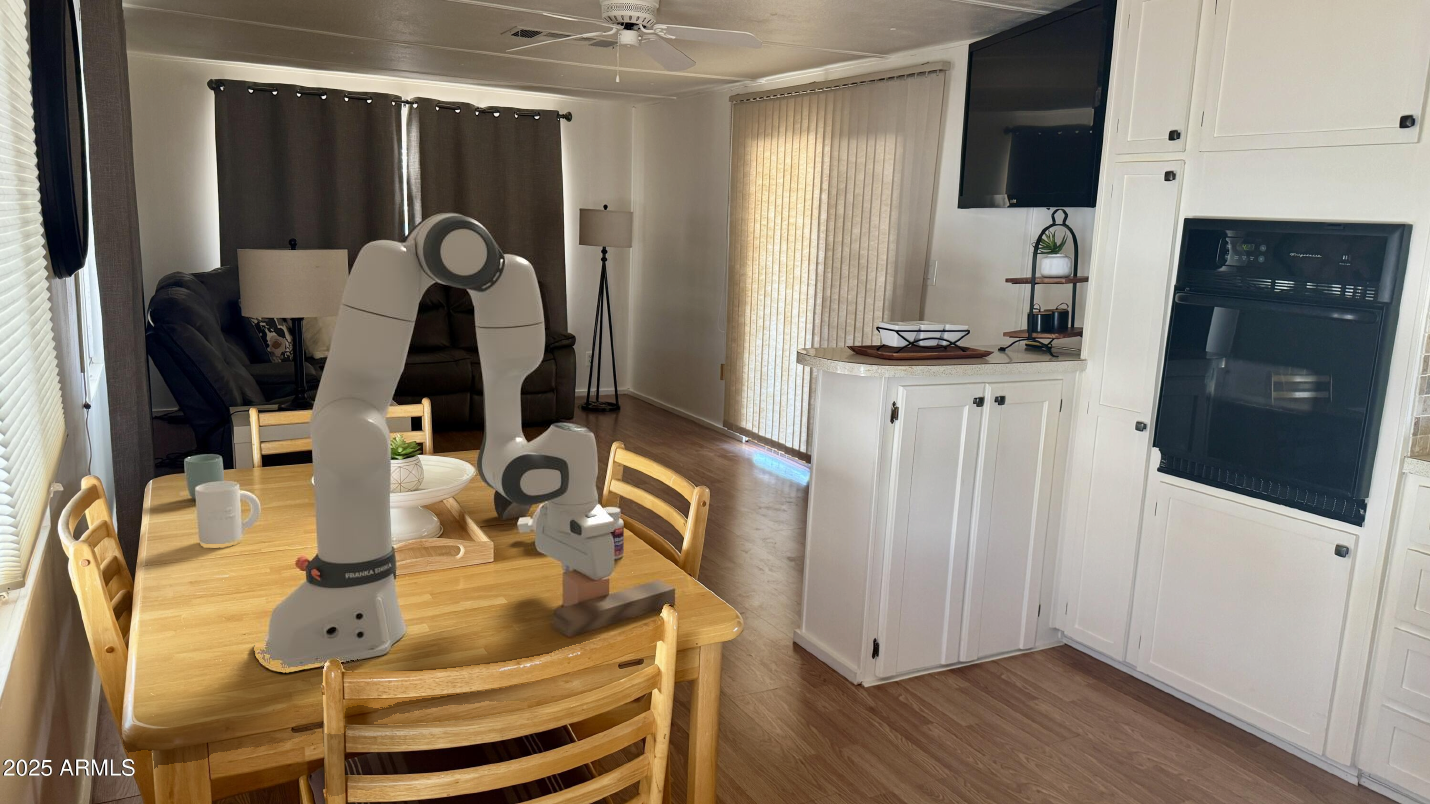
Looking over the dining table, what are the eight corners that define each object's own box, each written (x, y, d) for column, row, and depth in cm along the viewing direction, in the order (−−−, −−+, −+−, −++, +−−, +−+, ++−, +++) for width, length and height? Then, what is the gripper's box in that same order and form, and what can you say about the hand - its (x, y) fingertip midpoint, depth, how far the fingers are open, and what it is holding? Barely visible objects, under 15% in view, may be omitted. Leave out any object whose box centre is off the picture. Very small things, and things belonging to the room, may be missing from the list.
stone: (500, 527, 212) (503, 501, 205) (486, 502, 216) (489, 476, 208) (533, 515, 216) (537, 490, 209) (518, 491, 220) (522, 465, 213)
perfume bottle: (582, 525, 202) (528, 529, 203) (574, 490, 198) (519, 494, 199) (575, 549, 195) (519, 554, 196) (567, 513, 190) (510, 518, 191)
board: (568, 637, 152) (568, 620, 151) (552, 627, 155) (552, 610, 155) (675, 604, 166) (675, 588, 165) (657, 595, 170) (658, 579, 169)
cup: (231, 497, 223) (228, 457, 221) (199, 505, 216) (195, 464, 214) (213, 492, 227) (210, 452, 225) (181, 500, 220) (177, 459, 218)
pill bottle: (619, 561, 186) (619, 514, 185) (593, 558, 187) (593, 512, 186) (627, 552, 192) (627, 506, 190) (602, 550, 193) (601, 504, 191)
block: (577, 617, 159) (578, 585, 158) (562, 604, 164) (562, 572, 163) (608, 609, 163) (609, 578, 161) (592, 597, 168) (593, 565, 166)
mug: (269, 539, 195) (265, 484, 192) (206, 552, 187) (201, 494, 184) (256, 529, 201) (252, 475, 198) (194, 541, 193) (190, 485, 190)
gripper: (526, 503, 170) (527, 575, 172) (590, 531, 155) (590, 610, 157) (555, 497, 174) (556, 567, 176) (621, 524, 159) (620, 600, 162)
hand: (572, 587), depth 167 cm, fingers closed
